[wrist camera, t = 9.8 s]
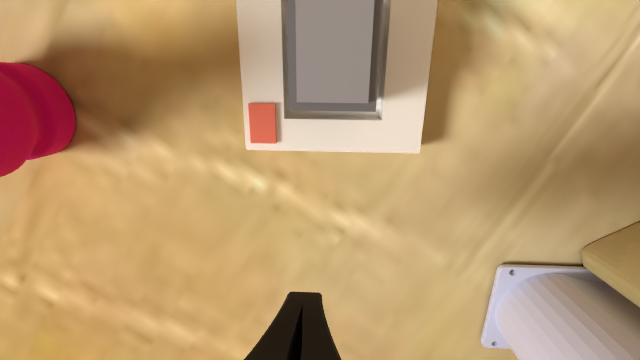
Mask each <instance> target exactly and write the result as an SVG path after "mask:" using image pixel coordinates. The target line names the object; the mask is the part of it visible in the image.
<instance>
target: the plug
mask: <svg viewBox="0 0 640 360" xmlns="http://www.w3.org/2000/svg"><path fill="white" fill-rule="evenodd" d="M382 14H383V0H287V39H288V86H289V111H352V112H376V101H377V87H378V72H379V58H380V43H381V28H382Z"/></svg>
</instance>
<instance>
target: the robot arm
mask: <svg viewBox="0 0 640 360" xmlns="http://www.w3.org/2000/svg"><path fill="white" fill-rule="evenodd" d="M511 270H513V271H512V272H510V271H511ZM481 343H482V345H483V346H484V347H487V348H508V349H512V351H513V352H514V354H515V355H516V357H517V359H518V360H640V308H639V307H638V306H637V305H635V304H634V303H633V302H631V301H630V300H629V299H627V298H626V297H625V296H623V295H622V294H621V293H619V292H618V291H616V290H615V289H614V288H612V287H611V286H610V285H608V284H607V283H606V282H604V281H603V280H602V279H600V278H599V277H597V276H596V275H595V274H593V273H592V272H591V271H589V270H588V269H587V268H586V267H575V266H545V265H514V264H503V265H500V266H499V267H498V269H497V272H496V276H495V281H494V285H493V289H492V293H491V298H490V302H489V306H488V311H487V315H486V319H485V323H484V328H483V332H482V336H481ZM244 360H341V358H340V355H339V353H338V351H337V349H336V346H335V344H334V341H333V339H332V336H331V333H330V330H329V327H328V324H327V321H326V318H325V314H324V310H323V304H322V295H321V294H320V293H312V292H290V293H289V294H288V295H287V298H286V300H285V302H284V304H283V305H282V307H281V309H280V311H279V312H278V314H277V316H276V317H275V319H274V320H273V322H272V323H271V325H270V326H269V328H268V329H267V331H266V332H265V334H264V335H263V336H262V338H261V339H260V340H259V342H258V343H257V344H256V346H255V347H254V348H253V349H252V351H251V352H250V353H249V354H248V355H247V357H246V358H245V359H244Z"/></svg>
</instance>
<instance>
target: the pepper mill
mask: <svg viewBox="0 0 640 360" xmlns="http://www.w3.org/2000/svg"><path fill="white" fill-rule="evenodd" d="M75 123H76V116H75V113H74V109H73V105H72V103H71V101H70V99H69V97H68V95H67V94H66V92H65V91H64V90H63V88H62V87H61V86H60V85H59V84H58V82H56V81H55V80H54V79H53V78H52V77H50V76H49V75H48V74H47V73H45V72H43V71H42V70H40V69H38V68H35V67H33V66H30V65H26V64H21V63H5V62H0V177H1V176H5V175H7V174H9V173H11V172H13V171H15V170H16V169H18V168H19V167H20V166H22V164H23V163H24V162H25V161H26V160H31V159H36V158H40V157H44V156H48V155H51V154H54V153H57V152H59V151H61V150H62V149H64V148H65V147H66V146H67V145H68V144H69V143H70V141H71V140H72V137H73V135H74V132H75Z"/></svg>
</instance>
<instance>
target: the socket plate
mask: <svg viewBox="0 0 640 360" xmlns="http://www.w3.org/2000/svg"><path fill="white" fill-rule="evenodd" d="M437 4H438V0H383V14H382V28H381V43H380V58H379V72H378V87H377V101H376V112H352V111H289V86H288V39H287V0H236V10H237V24H238V39H239V53H240V68H241V82H242V97H243V111H244V126H245V141H246V150H282V151H332V152H382V153H420V146H421V138H422V130H423V121H424V113H425V105H426V96H427V88H428V79H429V71H430V63H431V54H432V46H433V38H434V29H435V21H436V12H437Z"/></svg>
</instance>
